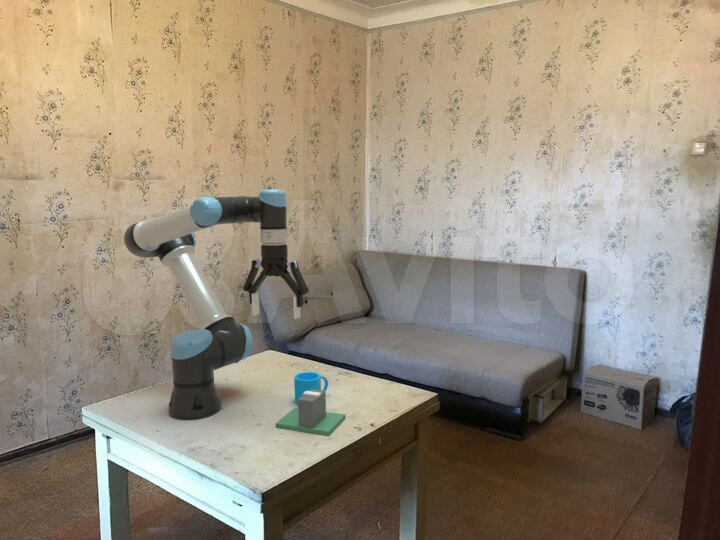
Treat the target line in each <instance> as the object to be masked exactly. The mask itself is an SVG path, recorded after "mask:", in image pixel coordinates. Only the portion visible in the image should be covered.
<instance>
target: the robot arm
mask: <svg viewBox="0 0 720 540" xmlns="http://www.w3.org/2000/svg"><path fill="white" fill-rule="evenodd" d="M287 207H288V203H287V196H286V192H285V190H284V189H260V191H259V192H258V196H245V195H242V196H241V195H240V196H203V197H197V198H195V199H194V200H193V202H192V203H191V205H187V206H186V207H183V208H181V209H178V210H175V211H173V212H169V213H167V214H165V215H163V216H160V217H157V218H155V219H151V220H148V219H147V220H146V219H143V220H141V221H138V222H137V221H136V222H134V223H132V224H130V226H128V227H127V229H126V230H125V232H124V234H123V242H124V245H125V247H126V250H128V252H130V253H131V254H132V255H134V256H136V257H139V258H144V259H145V258H158V259H159V261H160V262H161V265H163V266H164V267H168V268H169V269H170V272H171V273H172V275H173V277H174V278H175V280H176V282H177V284H178V287H179V288H180V290H181V291H182V293H183V295H184V297H185V300H187V303H188V305H189V306H190V308H191V311H192V313H193V314H194V315H195V318H196V319H197V321H198V323H199V326H200V327H201V328H199V329H197V328H196V329H193V330H192V329H190V330H186V331H184V332H181V333H179V334H177V335H176V336H174V338H173V339H172V341H171V352H170V356H171V361H172V379H173V388H172V392H171V396H170V400H169V403H168V415H169V416H170V417H172V418H174V419H178V420H197V419H202V418H203V419H204V418H207V417H210V416H213V415H214V414H216V413H218V412H219V411H220V410H221V409H222V398H221V396H220V395H219V391H218V389H217V386H216V383H215V373H214V372H215V371H216V370H218V369H221V368H224V367H227V366H230V365H233V364H238V363H239V362H240V361H242V360H245V359H246V358H247V357H249V356H250V354H251V351H252V348H253V346H252V345H253V336H252V333H251V330H250V329H249V328H248V326H247V325H244V324H243V323H237V322H236V319H235V318H234V316H233V315H229V314H227V313H226V312H225V310H224V308H223V306H222V305H221V303H220V301H219V299H218V297H217V295H216V293H215V292H214V290H213V288H212V286H211V285H210V283H209V281H208V279H207V277H206V275H205V274H204V272H203V270H202V269H201V266H200V264H199V263H198V261H197V259H196V257H195V256H194V254H195V252H196V248H195V247H196V244H197V243H196V242H197V239H195V238H196V234H195V233H197V232H200V231H203V230H205V229H208V228H211V227H214V226H218V225H226V224H227V225H229V224H242V223H244V224H245V223H259V229H260V243H261V246H260V256H261V260H260V259H253V260H252V261H251V268H250V270H249V273H248V275H247V278H246V280H245V282H244V285H243V286H242V287H243V288H242V290H243V291H246V292H248V296H249V304H250V305H251V310H252V311H251V313H252V316H257V315H260V295H259V294H260V293H259V292H258V289H259V288H260V287H261V285H263V282H264V281H265V280H266V279H267V278H268V277H273V276H274V277H280V278H281V279H283V281H284V282H285V283H286V284H287V285H288V287H289V288H290V290H291V291H292V292H293V294H294V296H293V298H292V299H293V320H297V319H300V318H301V308H302V307H303V305H304V304H303V303H304V302H303V301H304V299H303V296H304V295H306V294H309V291H310V289H309V288H308V286H307V283H306V281H305V279H304V277H303V275H302V273H301V270H300V269H299V263H298V261H297V260H294V261H289V260H288V244H286V243H288V227H287ZM260 267H262V271H260V273H259V275H258V272H259V269H260ZM288 268H289V270H290V271H291V273H292V275H291V273H290V271H289V270H288ZM257 275H258V276H257ZM256 277H257V279H256ZM293 277H294V278H293Z"/></svg>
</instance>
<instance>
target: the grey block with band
mask: <svg viewBox="0 0 720 540" xmlns="http://www.w3.org/2000/svg"><path fill="white" fill-rule="evenodd" d="M326 395H327V394H326V391H323V389H321V390H316V389H311V390H309V391H305V392H304V393H303V396H302V397H301V398H299V399H298V405H297V406H298V407H297V408H298V413H299V426H302V427H309V428H314V427H315V426H316V425H317V424H318V423H319V422H320V421H321V420H323V419H324V418H325V417H326V412H327V408H326V407H327V406H326V405H327V404H326V400H327V398H326Z"/></svg>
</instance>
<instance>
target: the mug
mask: <svg viewBox="0 0 720 540" xmlns="http://www.w3.org/2000/svg"><path fill="white" fill-rule="evenodd" d="M293 379H294V380H293V382H294V387H293V388H294V404H296V405H297V406H298V399H299V398H301V397H302V396H303V393H304V392H305V391H309V390H311V389H316V390H323V391H325V392H326V391H327V389H328V387H329V381H328V378H327V377H326V376H324V375H321V374H320V373H318V372H313V371H303V372H299V373H296V374H295V375H294V376H293ZM322 380H323V381H324V386H323V389H322V385H321V384H322V383H321V382H322Z"/></svg>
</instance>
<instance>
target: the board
mask: <svg viewBox="0 0 720 540" xmlns="http://www.w3.org/2000/svg"><path fill="white" fill-rule="evenodd" d="M344 420H346V414H344V413H337V412H330V411H326V417H325V418H324V419H323V420H321V421H320V422H319V423H318V424H317V425H316V426H315V427H314V428H309V427H302V426H299V413H298V407H297V406H296V407H294V408H292V410H290V411H289V412H287V414H286V415H284V416H283V417H282V418H280V419H279V420H278V421H277V422H276V423H275V428H278V429H284V430H289V431H295V432H302V433H308V434H315V435H321V436H326V437H330V435H331V434H332V433H334V431H335V430H336V429H337V428H338V427H339V426H340V425H341V424H342V423H343V422H344Z"/></svg>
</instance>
